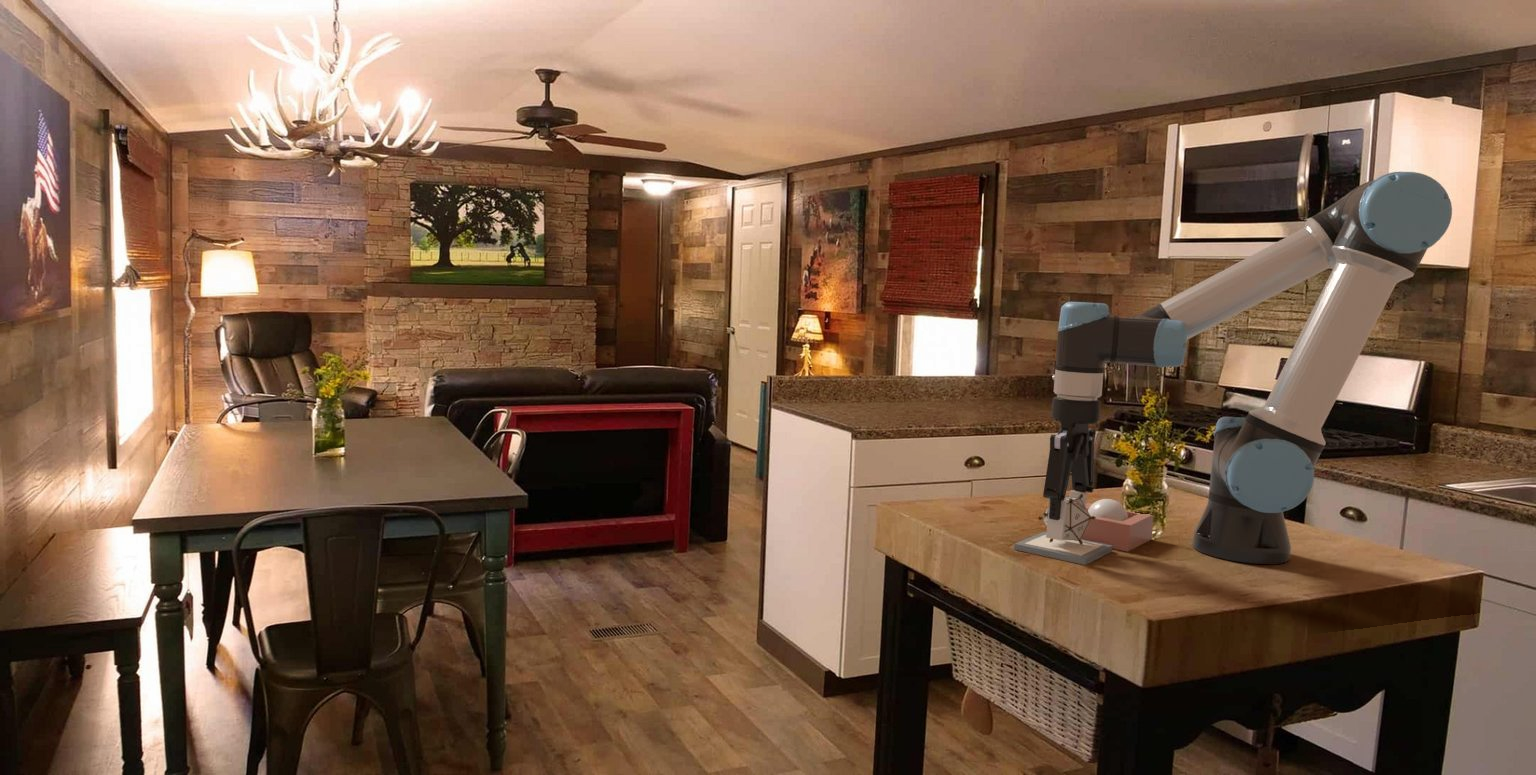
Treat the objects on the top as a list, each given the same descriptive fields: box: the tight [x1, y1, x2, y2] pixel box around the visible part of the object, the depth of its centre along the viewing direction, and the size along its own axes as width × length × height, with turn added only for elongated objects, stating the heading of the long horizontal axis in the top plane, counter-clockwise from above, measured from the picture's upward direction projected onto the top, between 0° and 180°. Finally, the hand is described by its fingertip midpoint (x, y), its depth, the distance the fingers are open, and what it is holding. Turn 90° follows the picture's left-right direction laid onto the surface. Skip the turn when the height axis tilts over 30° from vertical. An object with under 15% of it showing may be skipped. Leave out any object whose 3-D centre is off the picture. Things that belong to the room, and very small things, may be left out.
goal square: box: [1013, 531, 1113, 566], centre depth 173 cm, size 12×12×1 cm
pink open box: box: [1081, 502, 1154, 553], centre depth 183 cm, size 12×12×4 cm
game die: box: [1037, 494, 1096, 545], centre depth 172 cm, size 9×8×10 cm
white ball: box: [1088, 498, 1128, 521], centre depth 182 cm, size 7×7×7 cm
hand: (1065, 534), depth 173 cm, fingers closed on game die, 8 cm apart
